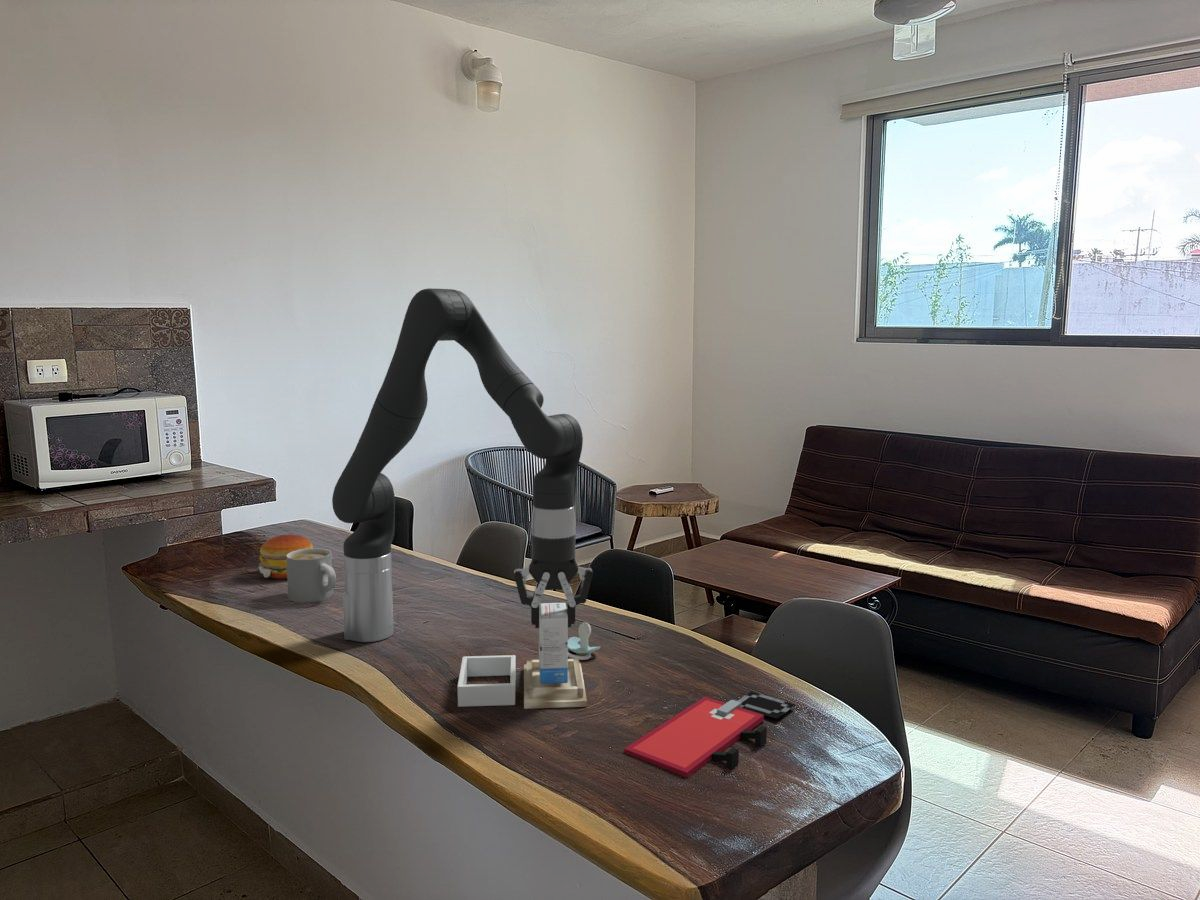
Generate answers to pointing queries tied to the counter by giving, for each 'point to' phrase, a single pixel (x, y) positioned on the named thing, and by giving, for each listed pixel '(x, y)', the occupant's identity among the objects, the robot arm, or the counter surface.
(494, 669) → the box
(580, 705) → the tray
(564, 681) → the ink box
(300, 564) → the coffee mug
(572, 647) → the pacifier
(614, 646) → the counter surface
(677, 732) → the red board with handle
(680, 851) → the counter surface
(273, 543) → the burger
